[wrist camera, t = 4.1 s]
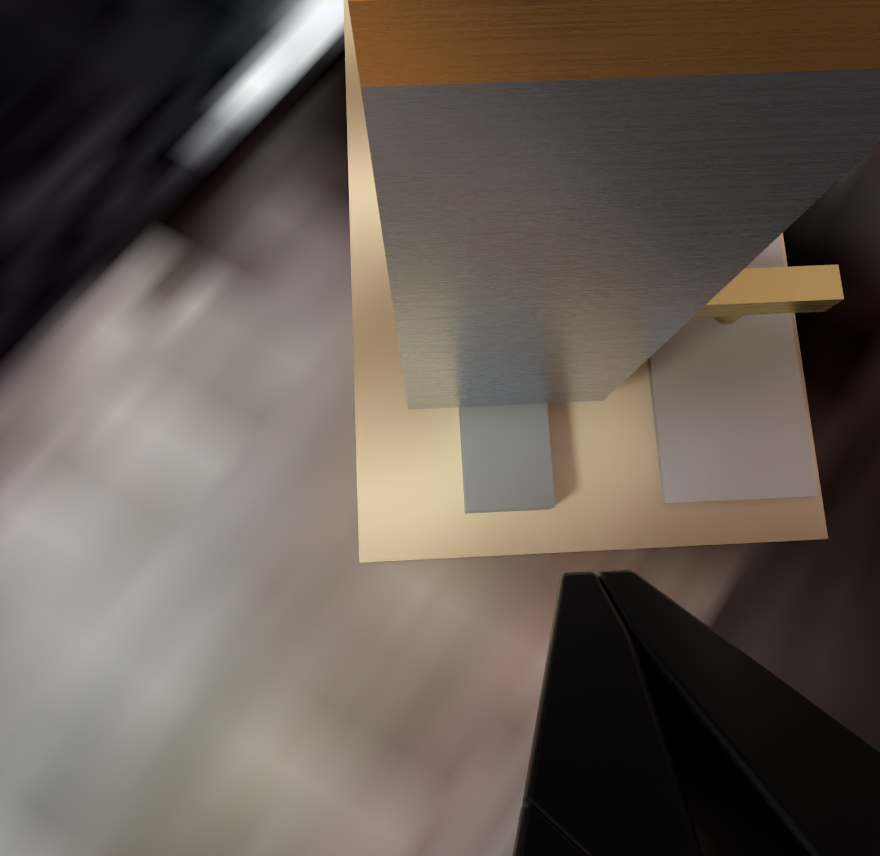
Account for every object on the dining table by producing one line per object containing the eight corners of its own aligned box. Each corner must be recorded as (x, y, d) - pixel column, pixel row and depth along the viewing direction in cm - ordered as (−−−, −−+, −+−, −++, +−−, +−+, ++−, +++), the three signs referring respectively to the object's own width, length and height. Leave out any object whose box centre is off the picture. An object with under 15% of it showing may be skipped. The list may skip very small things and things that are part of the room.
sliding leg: (817, 396, 17) (1851, -49, 5) (408, 415, 17) (348, 0, 4) (790, 222, 18) (1609, -551, 5) (401, 238, 17) (330, -528, 5)
